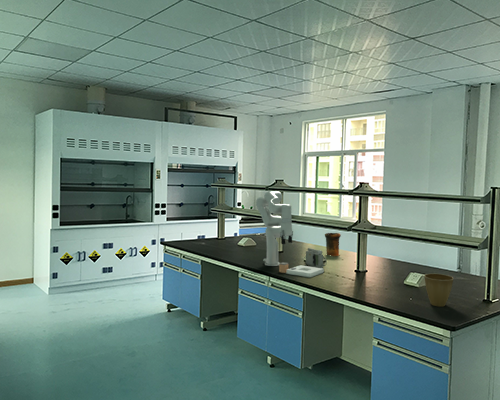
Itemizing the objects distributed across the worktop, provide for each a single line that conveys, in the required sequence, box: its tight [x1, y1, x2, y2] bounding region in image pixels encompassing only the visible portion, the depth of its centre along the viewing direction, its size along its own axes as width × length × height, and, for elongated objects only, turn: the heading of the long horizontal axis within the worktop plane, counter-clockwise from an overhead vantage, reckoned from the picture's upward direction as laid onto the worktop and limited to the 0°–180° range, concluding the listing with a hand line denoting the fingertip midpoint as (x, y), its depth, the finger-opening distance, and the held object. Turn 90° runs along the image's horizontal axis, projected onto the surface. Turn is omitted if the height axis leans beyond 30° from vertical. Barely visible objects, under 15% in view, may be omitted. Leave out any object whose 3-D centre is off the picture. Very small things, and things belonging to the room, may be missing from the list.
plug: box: [278, 262, 290, 274], centre depth 319 cm, size 5×5×7 cm
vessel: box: [324, 232, 342, 257], centre depth 386 cm, size 14×14×20 cm
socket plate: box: [285, 264, 324, 278], centre depth 314 cm, size 20×20×4 cm
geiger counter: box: [305, 247, 328, 269], centre depth 338 cm, size 14×6×25 cm
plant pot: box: [424, 273, 454, 307], centre depth 236 cm, size 15×15×16 cm
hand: (286, 243), depth 319 cm, fingers open, 9 cm apart
